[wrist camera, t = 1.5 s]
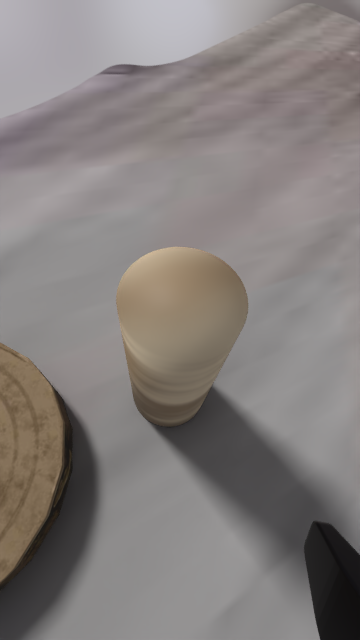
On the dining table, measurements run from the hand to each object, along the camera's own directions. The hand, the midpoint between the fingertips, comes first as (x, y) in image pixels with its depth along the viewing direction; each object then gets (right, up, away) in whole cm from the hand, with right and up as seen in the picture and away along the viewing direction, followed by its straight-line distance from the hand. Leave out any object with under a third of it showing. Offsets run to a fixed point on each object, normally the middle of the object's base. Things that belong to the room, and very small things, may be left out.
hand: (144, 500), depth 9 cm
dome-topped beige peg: (0, 0, +15) cm, 15 cm away
